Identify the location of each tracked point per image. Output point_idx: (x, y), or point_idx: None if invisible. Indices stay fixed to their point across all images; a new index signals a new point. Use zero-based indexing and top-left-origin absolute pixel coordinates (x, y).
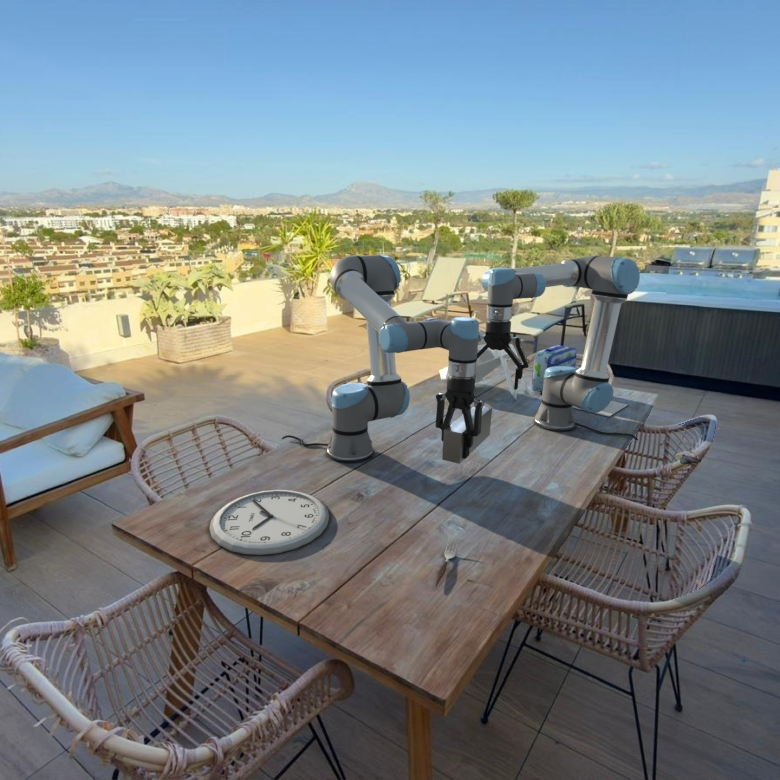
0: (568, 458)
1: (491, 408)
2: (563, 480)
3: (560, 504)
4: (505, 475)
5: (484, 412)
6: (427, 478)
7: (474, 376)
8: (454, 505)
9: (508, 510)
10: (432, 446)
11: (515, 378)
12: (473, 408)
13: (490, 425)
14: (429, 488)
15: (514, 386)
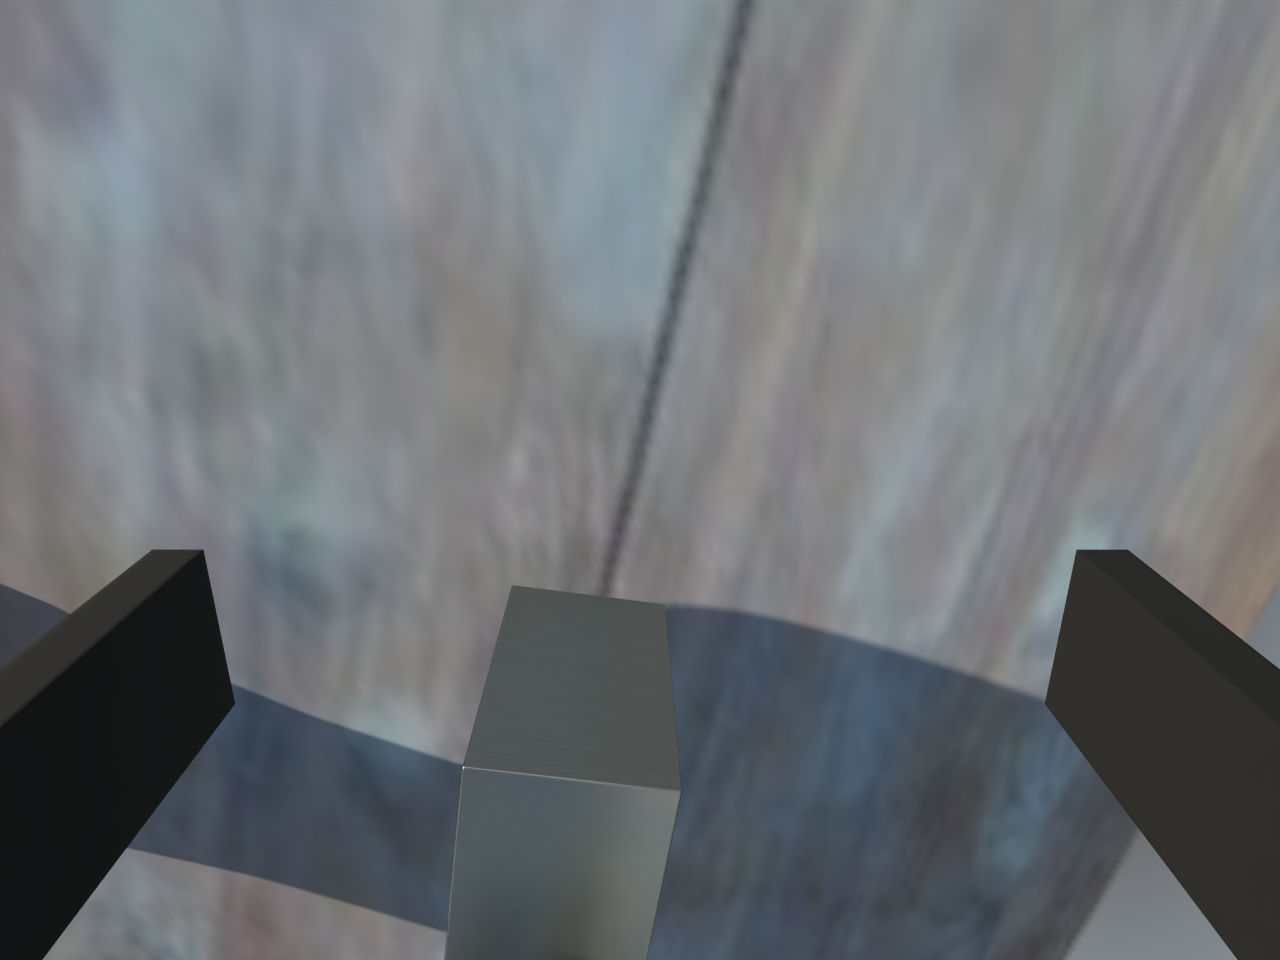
0: (1257, 61)
1: (678, 804)
2: (1153, 475)
3: None
4: (787, 549)
5: (629, 953)
6: (364, 751)
7: (128, 765)
8: None
9: (841, 883)
10: (165, 288)
11: (1198, 891)
12: (475, 892)
13: (669, 658)
14: (421, 838)
15: (1079, 742)
